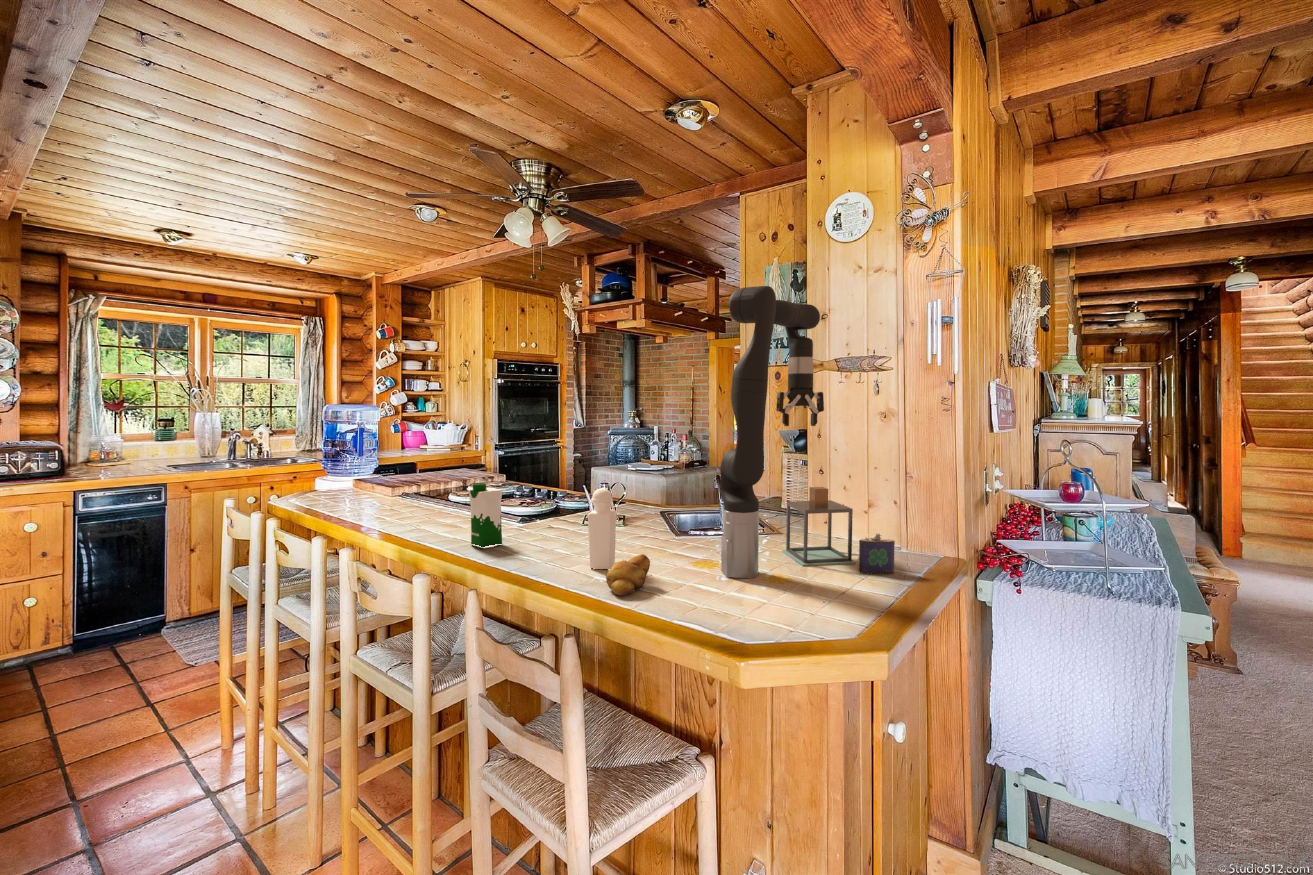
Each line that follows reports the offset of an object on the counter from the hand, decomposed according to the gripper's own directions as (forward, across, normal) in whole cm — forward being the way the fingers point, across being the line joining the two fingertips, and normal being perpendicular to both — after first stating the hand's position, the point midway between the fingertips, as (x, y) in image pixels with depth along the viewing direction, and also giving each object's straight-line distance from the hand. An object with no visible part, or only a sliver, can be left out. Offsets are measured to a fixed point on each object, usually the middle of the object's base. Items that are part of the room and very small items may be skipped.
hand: (799, 426), depth 180 cm
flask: (+38, +11, -27) cm, 48 cm away
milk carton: (+38, -96, +20) cm, 105 cm away
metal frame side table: (+38, +2, -10) cm, 39 cm away
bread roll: (+38, -57, -30) cm, 75 cm away
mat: (+38, +2, -10) cm, 39 cm away
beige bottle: (+38, -61, -10) cm, 73 cm away
